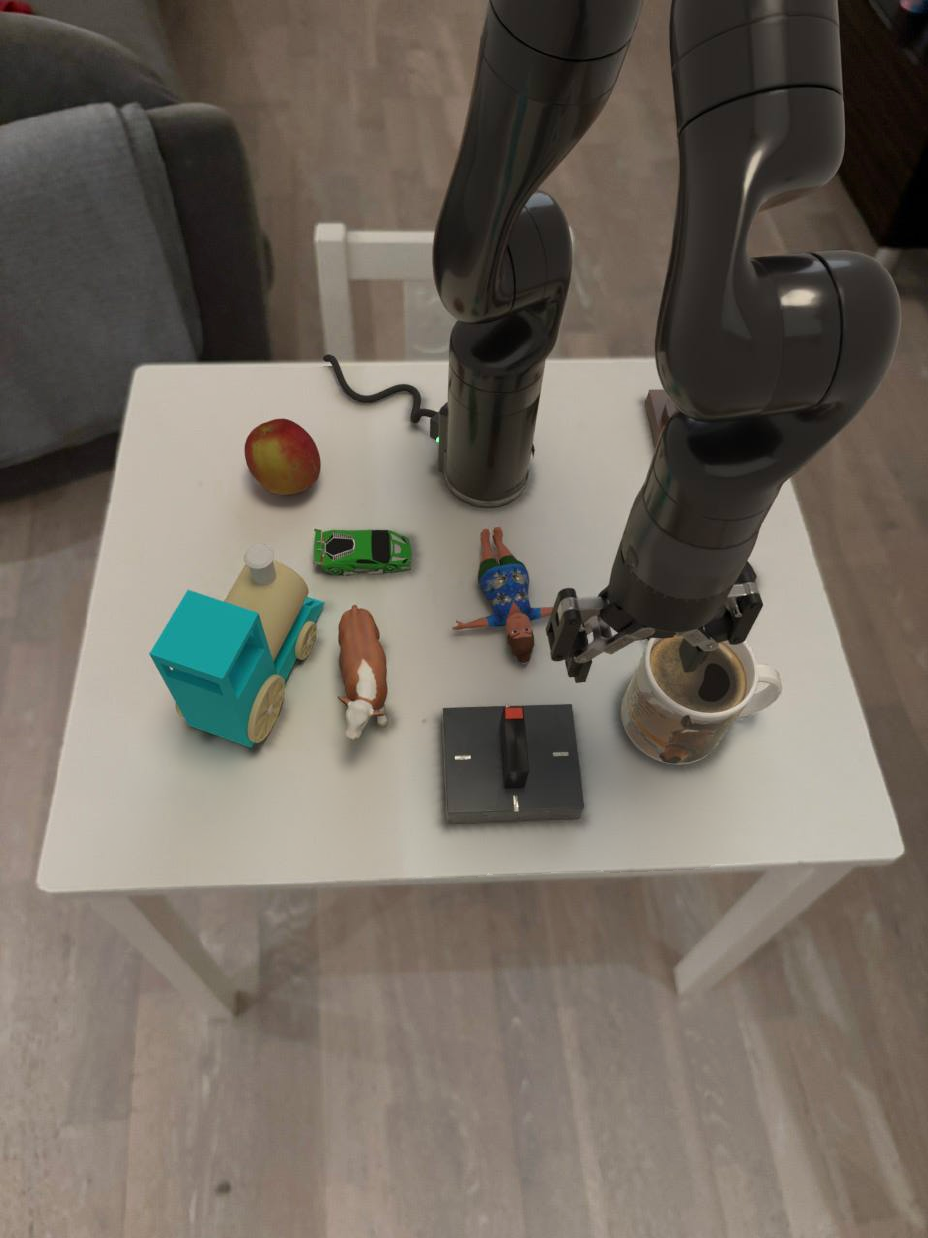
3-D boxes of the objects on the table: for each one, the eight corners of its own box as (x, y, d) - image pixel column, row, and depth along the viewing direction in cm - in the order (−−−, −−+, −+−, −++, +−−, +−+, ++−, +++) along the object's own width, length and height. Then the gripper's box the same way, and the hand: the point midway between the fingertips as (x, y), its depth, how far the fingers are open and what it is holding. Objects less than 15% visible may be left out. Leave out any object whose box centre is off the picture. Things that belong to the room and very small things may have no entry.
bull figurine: (343, 764, 83) (336, 729, 76) (341, 637, 90) (334, 593, 83) (391, 761, 83) (388, 726, 76) (386, 634, 90) (382, 591, 83)
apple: (311, 446, 102) (303, 395, 95) (331, 500, 98) (324, 451, 91) (244, 462, 100) (231, 412, 93) (262, 518, 97) (250, 470, 90)
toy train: (332, 609, 91) (318, 520, 78) (261, 754, 83) (231, 682, 70) (261, 586, 92) (235, 494, 79) (183, 727, 84) (140, 650, 71)
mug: (655, 649, 90) (682, 590, 81) (763, 714, 87) (805, 661, 78) (601, 727, 86) (624, 675, 76) (713, 799, 83) (752, 753, 73)
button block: (728, 466, 103) (739, 442, 99) (659, 468, 102) (668, 444, 99) (710, 401, 108) (720, 376, 104) (644, 402, 107) (652, 377, 104)
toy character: (551, 509, 93) (592, 633, 86) (546, 536, 97) (585, 657, 90) (432, 527, 91) (464, 655, 84) (431, 554, 95) (462, 679, 88)
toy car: (410, 536, 96) (410, 523, 94) (412, 573, 94) (412, 561, 92) (316, 539, 95) (313, 526, 94) (315, 576, 93) (313, 564, 91)
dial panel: (446, 825, 80) (447, 813, 78) (441, 719, 86) (442, 705, 83) (579, 820, 81) (585, 808, 78) (567, 716, 86) (572, 701, 84)
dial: (524, 787, 79) (529, 770, 76) (504, 788, 79) (508, 771, 76) (519, 725, 82) (523, 705, 79) (499, 725, 82) (503, 705, 79)
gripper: (777, 488, 58) (708, 617, 72) (559, 504, 57) (532, 632, 71) (814, 586, 54) (734, 702, 68) (582, 606, 53) (548, 720, 67)
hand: (631, 666), depth 69 cm, fingers open, 8 cm apart
